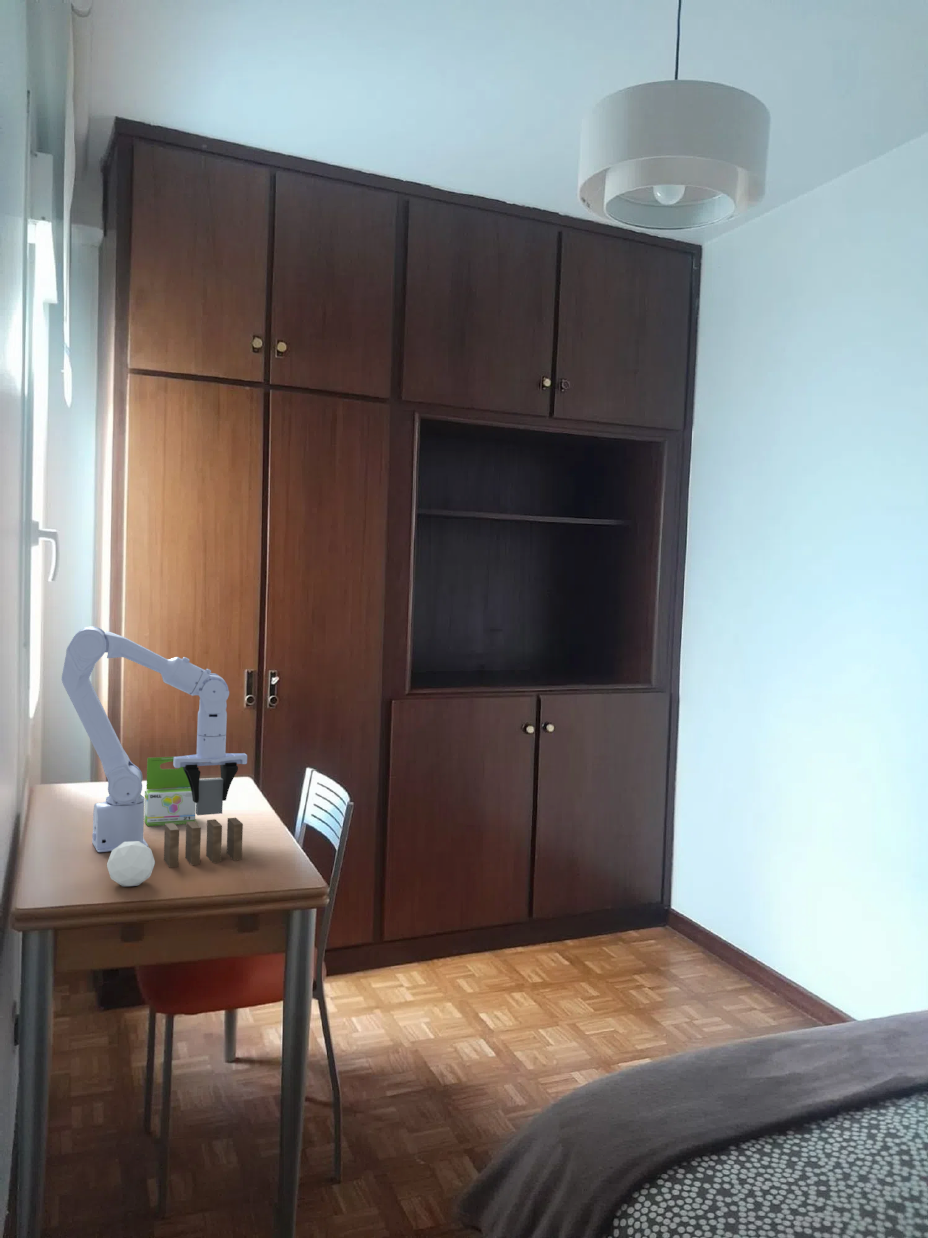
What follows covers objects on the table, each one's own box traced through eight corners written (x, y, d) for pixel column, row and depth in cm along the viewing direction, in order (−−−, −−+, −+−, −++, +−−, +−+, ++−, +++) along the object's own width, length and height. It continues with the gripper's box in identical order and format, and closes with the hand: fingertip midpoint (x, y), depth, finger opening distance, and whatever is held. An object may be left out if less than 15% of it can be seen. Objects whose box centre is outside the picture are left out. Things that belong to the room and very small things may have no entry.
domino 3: (222, 813, 196) (223, 779, 196) (197, 815, 194) (198, 781, 194) (220, 811, 198) (221, 778, 198) (195, 813, 195) (196, 779, 195)
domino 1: (169, 867, 178) (170, 830, 178) (163, 860, 183) (164, 823, 182) (178, 866, 179) (179, 829, 179) (172, 859, 183) (173, 823, 183)
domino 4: (212, 863, 182) (213, 826, 182) (206, 855, 186) (207, 820, 186) (221, 862, 183) (222, 825, 183) (214, 854, 187) (215, 819, 187)
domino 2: (191, 865, 180) (192, 828, 180) (185, 858, 185) (186, 822, 184) (199, 864, 181) (200, 827, 181) (193, 857, 185) (194, 821, 185)
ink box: (146, 827, 205) (147, 762, 205) (143, 820, 210) (145, 757, 210) (195, 823, 210) (197, 760, 209) (192, 817, 215) (193, 755, 214)
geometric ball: (142, 899, 168) (169, 866, 167) (103, 893, 163) (130, 858, 162) (131, 868, 174) (157, 836, 172) (92, 860, 168) (119, 827, 167)
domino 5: (233, 860, 184) (234, 824, 184) (226, 853, 188) (227, 818, 188) (241, 859, 185) (242, 823, 185) (234, 852, 189) (235, 817, 189)
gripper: (179, 739, 188) (177, 807, 189) (252, 736, 195) (250, 802, 196) (171, 733, 194) (169, 799, 195) (242, 730, 201) (240, 794, 202)
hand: (209, 800), depth 196 cm, fingers closed on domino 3, 5 cm apart
